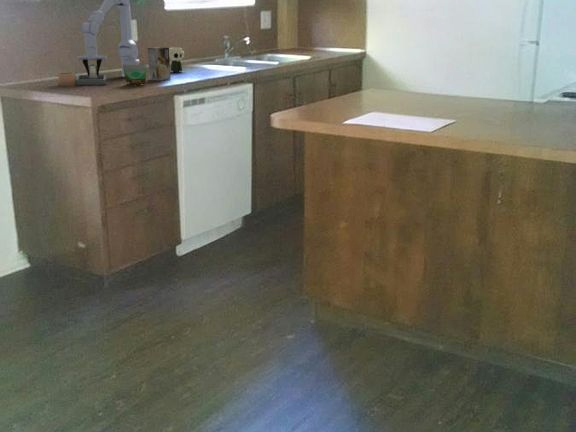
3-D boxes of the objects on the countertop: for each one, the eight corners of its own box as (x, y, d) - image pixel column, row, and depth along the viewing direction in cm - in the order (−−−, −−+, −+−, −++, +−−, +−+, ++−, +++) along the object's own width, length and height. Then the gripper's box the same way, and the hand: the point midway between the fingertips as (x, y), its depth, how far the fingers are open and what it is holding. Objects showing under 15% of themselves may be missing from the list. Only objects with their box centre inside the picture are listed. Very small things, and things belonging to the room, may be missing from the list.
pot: (76, 84, 359) (75, 71, 357) (75, 86, 351) (74, 73, 349) (59, 84, 357) (58, 71, 355) (58, 86, 350) (57, 73, 348)
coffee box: (163, 78, 383) (161, 46, 378) (170, 79, 379) (169, 47, 374) (148, 79, 377) (147, 47, 372) (156, 80, 373) (155, 48, 368)
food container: (126, 86, 351) (125, 65, 348) (123, 85, 357) (122, 64, 354) (151, 85, 357) (150, 64, 354) (147, 83, 362) (146, 63, 359)
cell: (97, 77, 369) (96, 63, 367) (97, 78, 365) (96, 64, 363) (89, 77, 368) (88, 64, 366) (89, 78, 364) (88, 65, 362)
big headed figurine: (171, 73, 402) (170, 49, 398) (164, 72, 407) (163, 48, 403) (188, 72, 409) (187, 48, 405) (181, 70, 414) (180, 47, 410)
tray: (106, 79, 376) (105, 74, 375) (105, 84, 357) (105, 79, 356) (77, 80, 373) (77, 75, 372) (76, 85, 354) (75, 80, 353)
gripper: (75, 48, 356) (77, 76, 361) (106, 47, 360) (108, 75, 364) (76, 46, 363) (78, 74, 367) (106, 46, 366) (108, 73, 370)
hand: (93, 75), depth 366 cm, fingers closed on cell, 4 cm apart
